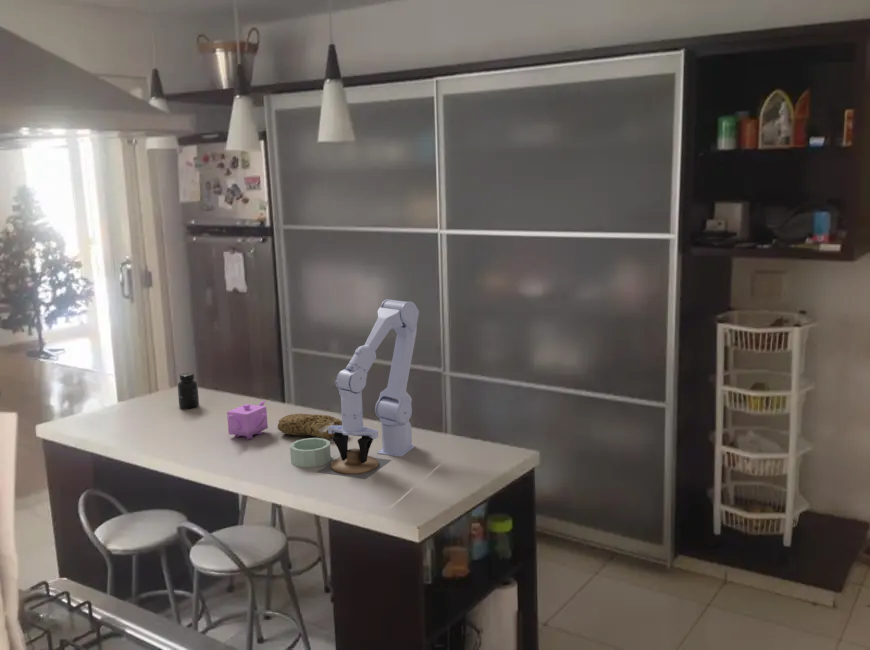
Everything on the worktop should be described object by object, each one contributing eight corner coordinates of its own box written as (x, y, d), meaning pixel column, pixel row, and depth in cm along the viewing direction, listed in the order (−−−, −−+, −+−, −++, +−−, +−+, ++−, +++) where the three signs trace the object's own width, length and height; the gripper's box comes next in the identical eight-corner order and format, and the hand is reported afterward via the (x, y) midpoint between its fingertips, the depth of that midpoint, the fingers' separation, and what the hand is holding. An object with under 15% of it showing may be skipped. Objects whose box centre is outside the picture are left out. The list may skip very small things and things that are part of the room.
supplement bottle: (175, 409, 283) (172, 376, 281) (184, 404, 290) (182, 371, 288) (194, 409, 282) (191, 376, 280) (202, 404, 289) (200, 371, 287)
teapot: (248, 446, 242) (246, 415, 241) (214, 441, 248) (211, 410, 246) (285, 429, 258) (283, 399, 256) (252, 424, 264) (250, 395, 262)
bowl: (305, 452, 235) (304, 436, 235) (337, 457, 231) (337, 440, 230) (283, 465, 226) (282, 448, 225) (317, 470, 221) (316, 452, 220)
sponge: (347, 437, 252) (302, 415, 263) (347, 416, 249) (301, 394, 259) (317, 457, 243) (272, 433, 253) (316, 435, 239) (270, 412, 250)
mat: (344, 455, 233) (344, 453, 232) (391, 461, 227) (391, 459, 226) (316, 473, 219) (316, 471, 219) (365, 480, 213) (365, 478, 213)
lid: (345, 455, 231) (344, 441, 230) (386, 460, 226) (385, 446, 225) (321, 470, 219) (321, 455, 219) (364, 476, 214) (363, 461, 214)
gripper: (321, 414, 219) (324, 462, 222) (368, 419, 213) (370, 468, 216) (334, 407, 226) (337, 453, 228) (380, 412, 220) (382, 459, 222)
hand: (354, 460), depth 222 cm, fingers open, 5 cm apart
